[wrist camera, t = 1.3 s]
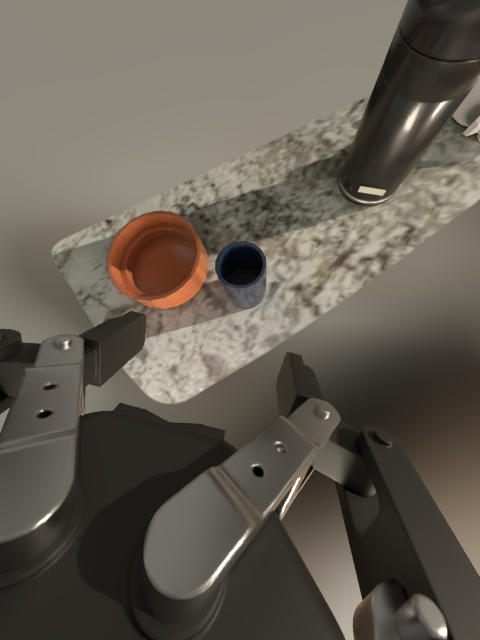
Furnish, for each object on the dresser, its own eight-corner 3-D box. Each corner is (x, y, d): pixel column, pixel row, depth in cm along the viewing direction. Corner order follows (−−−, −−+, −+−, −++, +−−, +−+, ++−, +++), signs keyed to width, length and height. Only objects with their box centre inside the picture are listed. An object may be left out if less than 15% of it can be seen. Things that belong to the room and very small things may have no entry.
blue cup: (245, 265, 36) (239, 232, 27) (273, 288, 34) (276, 261, 26) (219, 291, 35) (205, 266, 26) (247, 316, 34) (241, 298, 25)
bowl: (170, 216, 39) (157, 194, 34) (226, 264, 36) (221, 248, 31) (111, 272, 38) (89, 258, 33) (164, 327, 35) (148, 321, 30)
